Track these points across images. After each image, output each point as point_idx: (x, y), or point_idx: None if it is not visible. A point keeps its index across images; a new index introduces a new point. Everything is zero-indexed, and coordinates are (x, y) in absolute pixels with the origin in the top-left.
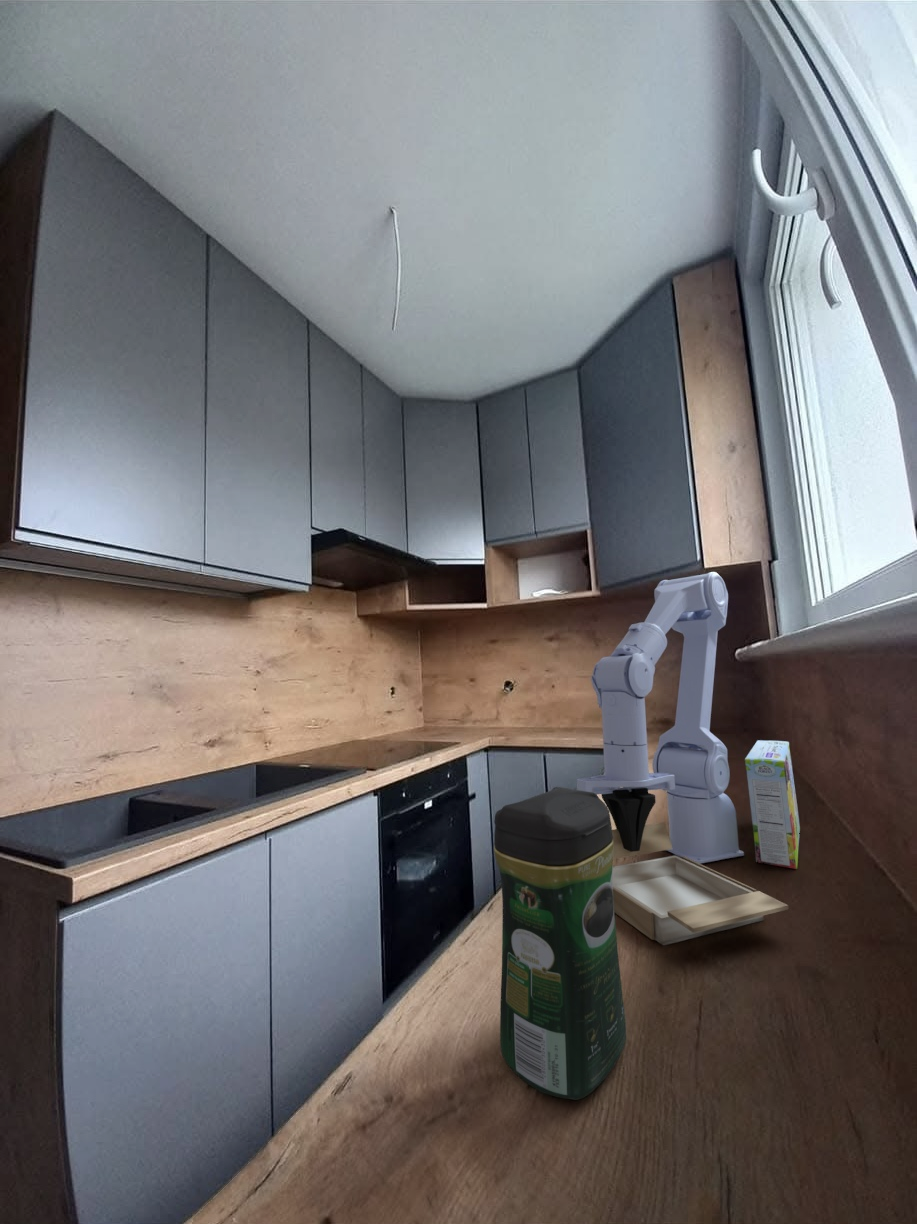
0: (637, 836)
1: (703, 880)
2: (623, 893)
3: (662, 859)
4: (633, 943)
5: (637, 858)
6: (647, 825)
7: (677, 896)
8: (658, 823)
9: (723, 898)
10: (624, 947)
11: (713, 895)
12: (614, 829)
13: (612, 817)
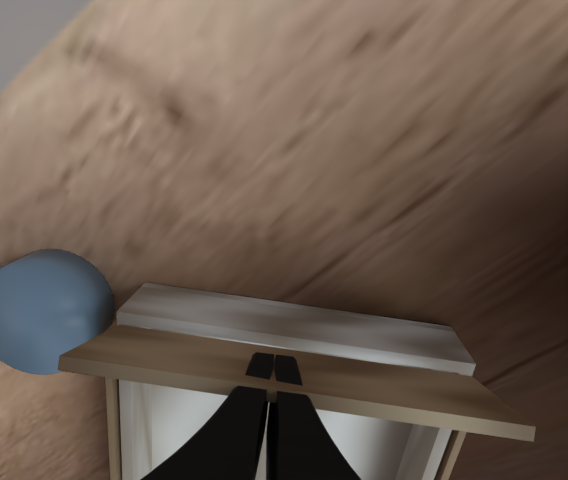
0: (266, 461)
1: (419, 437)
2: (121, 444)
3: (405, 364)
4: (103, 457)
5: (481, 167)
6: (414, 423)
7: (317, 413)
8: (488, 432)
9: (399, 465)
10: (80, 457)
11: (396, 447)
12: (223, 384)
13: (204, 425)
